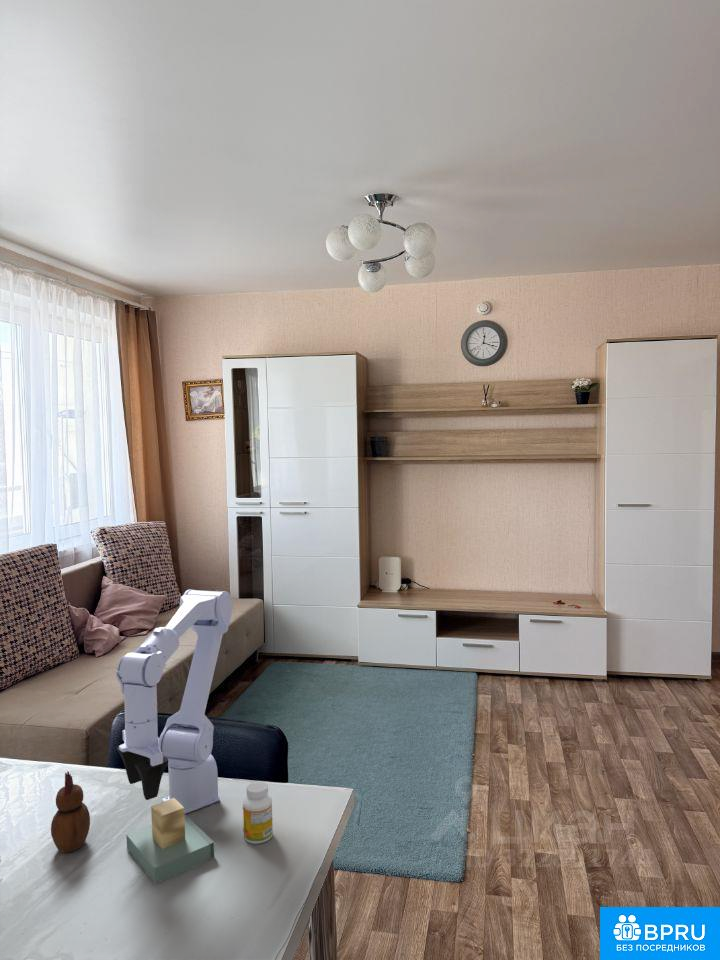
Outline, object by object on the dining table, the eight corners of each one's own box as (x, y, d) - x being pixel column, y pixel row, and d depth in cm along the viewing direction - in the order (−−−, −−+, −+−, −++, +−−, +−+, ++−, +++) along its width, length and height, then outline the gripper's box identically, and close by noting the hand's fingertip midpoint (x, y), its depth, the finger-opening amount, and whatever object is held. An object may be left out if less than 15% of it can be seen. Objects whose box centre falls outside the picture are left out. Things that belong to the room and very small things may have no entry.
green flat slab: (183, 827, 132) (182, 812, 132) (214, 858, 122) (213, 842, 122) (127, 850, 125) (126, 834, 125) (155, 885, 115) (154, 867, 115)
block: (175, 828, 127) (174, 797, 126) (185, 839, 123) (184, 807, 123) (152, 837, 124) (151, 806, 123) (162, 849, 120) (160, 816, 120)
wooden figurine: (74, 859, 122) (71, 778, 122) (46, 855, 124) (42, 775, 123) (96, 837, 129) (93, 760, 128) (69, 834, 130) (65, 758, 129)
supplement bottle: (244, 829, 131) (243, 780, 130) (272, 827, 132) (271, 778, 131) (243, 846, 126) (241, 795, 125) (272, 843, 126) (271, 792, 126)
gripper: (105, 711, 129) (107, 782, 129) (134, 736, 117) (136, 812, 118) (142, 702, 133) (144, 770, 134) (173, 725, 122) (175, 799, 122)
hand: (143, 789), depth 126 cm, fingers open, 7 cm apart
